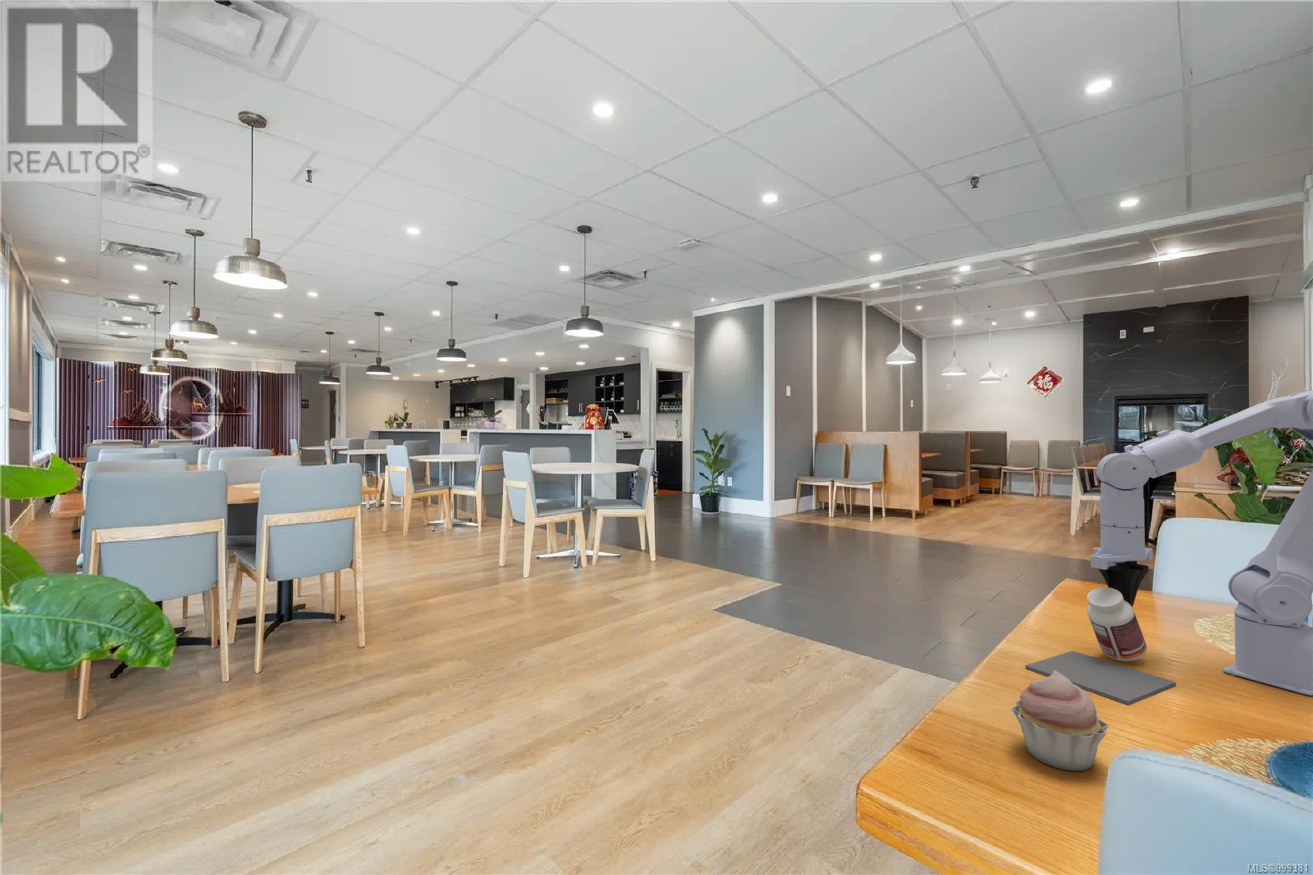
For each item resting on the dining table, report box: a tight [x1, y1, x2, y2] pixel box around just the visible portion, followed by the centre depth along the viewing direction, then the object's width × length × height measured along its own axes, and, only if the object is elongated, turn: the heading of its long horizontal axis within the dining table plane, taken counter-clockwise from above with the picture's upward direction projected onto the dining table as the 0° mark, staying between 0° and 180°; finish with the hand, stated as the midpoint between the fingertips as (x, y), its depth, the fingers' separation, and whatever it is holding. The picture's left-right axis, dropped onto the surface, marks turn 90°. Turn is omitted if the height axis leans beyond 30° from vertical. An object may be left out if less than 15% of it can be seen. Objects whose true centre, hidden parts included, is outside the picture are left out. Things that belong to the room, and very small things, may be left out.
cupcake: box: [1010, 670, 1110, 772], centre depth 67 cm, size 9×9×10 cm
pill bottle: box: [1086, 586, 1148, 662], centre depth 94 cm, size 6×6×11 cm
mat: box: [1024, 650, 1177, 706], centre depth 88 cm, size 14×13×1 cm
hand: (1123, 607), depth 95 cm, fingers closed
